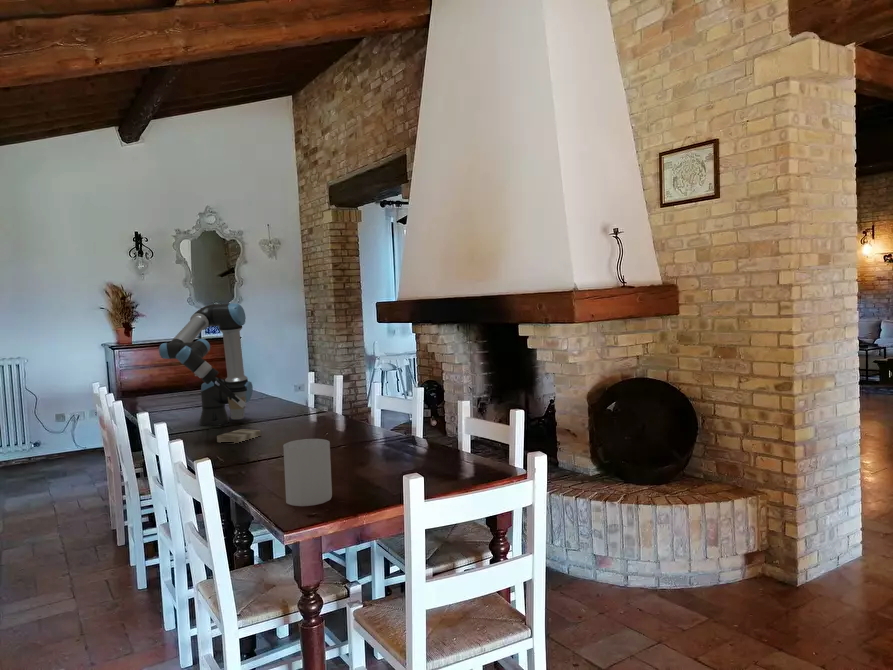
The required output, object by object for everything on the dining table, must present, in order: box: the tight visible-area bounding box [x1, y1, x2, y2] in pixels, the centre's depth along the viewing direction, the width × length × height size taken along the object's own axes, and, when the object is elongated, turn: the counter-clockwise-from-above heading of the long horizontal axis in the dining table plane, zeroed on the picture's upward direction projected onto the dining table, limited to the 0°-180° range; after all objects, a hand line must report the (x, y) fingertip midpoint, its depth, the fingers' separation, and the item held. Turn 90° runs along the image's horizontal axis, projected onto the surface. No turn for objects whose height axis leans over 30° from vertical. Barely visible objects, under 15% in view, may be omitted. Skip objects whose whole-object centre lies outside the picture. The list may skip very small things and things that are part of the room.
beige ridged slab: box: [216, 428, 262, 444], centre depth 304 cm, size 16×12×3 cm
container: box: [282, 438, 333, 507], centre depth 206 cm, size 14×14×18 cm
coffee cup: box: [228, 385, 247, 420], centre depth 303 cm, size 9×9×15 cm
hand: (244, 404), depth 304 cm, fingers closed on coffee cup, 9 cm apart
